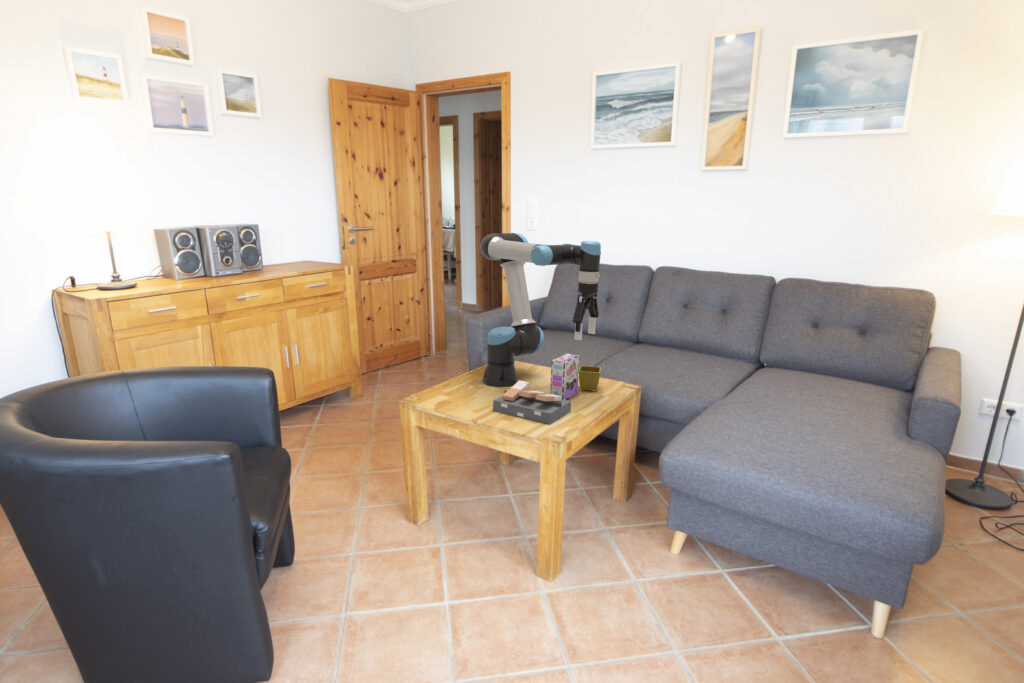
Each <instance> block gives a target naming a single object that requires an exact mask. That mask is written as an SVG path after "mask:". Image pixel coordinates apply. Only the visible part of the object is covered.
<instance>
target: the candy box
mask: <svg viewBox="0 0 1024 683" xmlns="http://www.w3.org/2000/svg"><path fill="white" fill-rule="evenodd" d="M579 366H580V355H577V354H572V353H565V354H563V355H561V356H557V357H556V358H554V359H551V367H550V369H551V370H550V373H551V374H550V388H549V391H550V392H549V394H554V395H558V396H562V399H563V400H567V401H568V400H569V399H571V398H572V397H575V395H577V394H578V393H579V392H578V391H579V390H578V388H579V387H578V386H579V369H580V367H579Z"/></svg>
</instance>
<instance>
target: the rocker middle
mask: <svg viewBox="0 0 1024 683" xmlns="http://www.w3.org/2000/svg"><path fill="white" fill-rule="evenodd" d="M539 394H546V392H544V391H538V390H525V391H519V396H524V397H529V398H533V397H536V395H539Z"/></svg>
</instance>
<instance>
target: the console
mask: <svg viewBox="0 0 1024 683" xmlns="http://www.w3.org/2000/svg"><path fill="white" fill-rule="evenodd" d="M507 391H508V390H504V393H503V394H505V393H506V392H507ZM571 408H572V401H571V400H568V399H567V400H563V399H562V400H561V401H542V400H538V399H536V397H533V398H529V397H524V396H518V397H517V398H516V399H515V400H514V401H510V400H505V399H503V395H501V396H499V397H497V398H495V399H493V400H492V411H494V412H499V413H501V414H502V413H503V414H506V415H509V416H510V415H511V416H513V417H518V418H523V419H526V420H531V421H535V422H538V423H543V424H547V425H551V424H553V423H554V422H556V421H558V420H560V419H561V418H562V417H565V415H567V414H569V413H571V411H572V409H571Z"/></svg>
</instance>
